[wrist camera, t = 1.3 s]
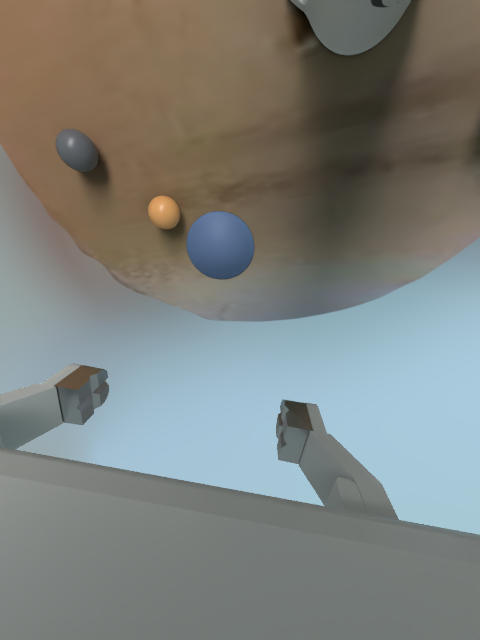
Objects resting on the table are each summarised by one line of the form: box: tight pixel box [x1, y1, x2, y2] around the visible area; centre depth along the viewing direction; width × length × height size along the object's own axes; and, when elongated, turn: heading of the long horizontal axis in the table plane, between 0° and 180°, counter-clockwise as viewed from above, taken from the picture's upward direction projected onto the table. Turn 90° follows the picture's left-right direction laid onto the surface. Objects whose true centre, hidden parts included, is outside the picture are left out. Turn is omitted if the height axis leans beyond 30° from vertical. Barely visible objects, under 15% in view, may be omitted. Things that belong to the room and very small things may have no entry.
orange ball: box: [148, 196, 180, 229], centre depth 41 cm, size 6×6×6 cm
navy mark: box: [187, 211, 254, 279], centre depth 48 cm, size 14×14×1 cm
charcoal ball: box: [56, 129, 98, 172], centre depth 36 cm, size 6×6×6 cm
